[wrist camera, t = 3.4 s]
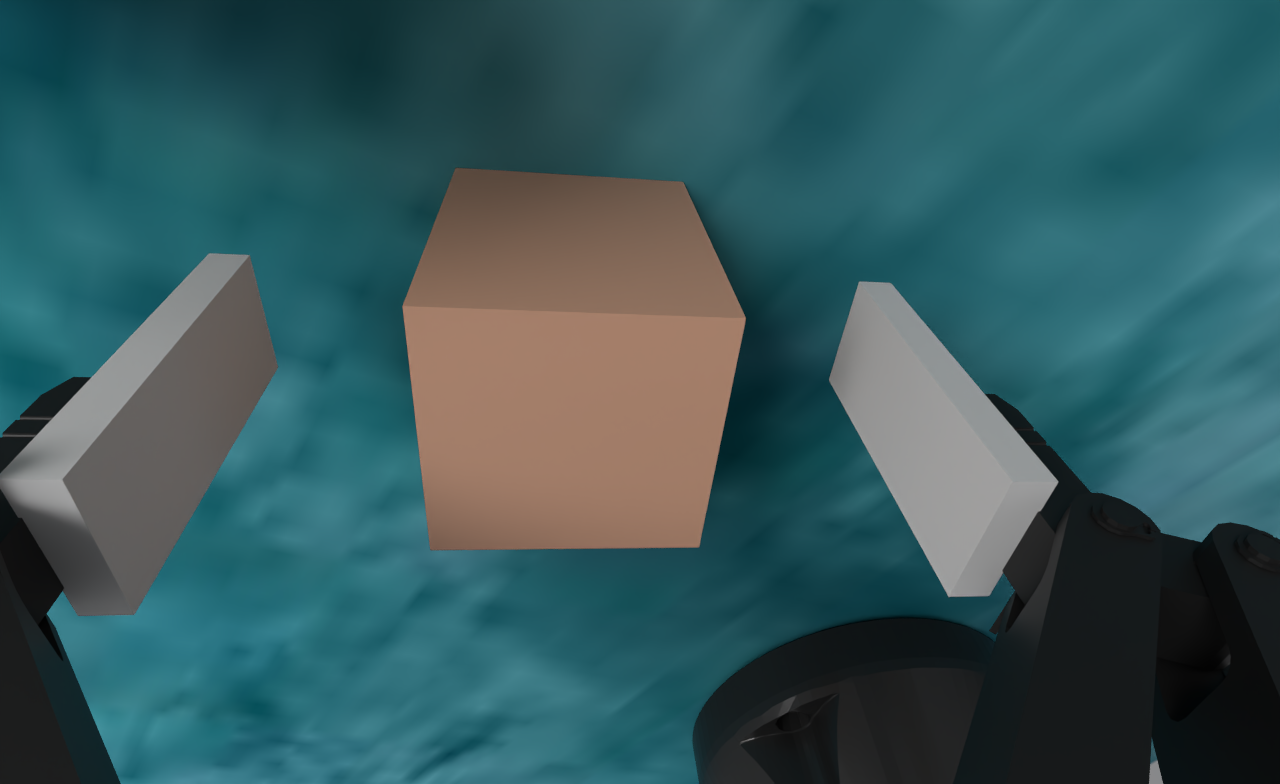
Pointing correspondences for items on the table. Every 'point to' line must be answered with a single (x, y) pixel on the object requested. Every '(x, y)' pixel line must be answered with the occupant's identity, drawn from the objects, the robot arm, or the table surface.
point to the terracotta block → (569, 363)
